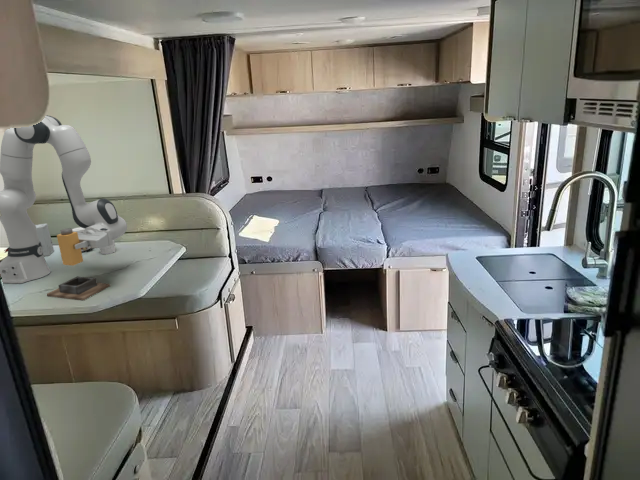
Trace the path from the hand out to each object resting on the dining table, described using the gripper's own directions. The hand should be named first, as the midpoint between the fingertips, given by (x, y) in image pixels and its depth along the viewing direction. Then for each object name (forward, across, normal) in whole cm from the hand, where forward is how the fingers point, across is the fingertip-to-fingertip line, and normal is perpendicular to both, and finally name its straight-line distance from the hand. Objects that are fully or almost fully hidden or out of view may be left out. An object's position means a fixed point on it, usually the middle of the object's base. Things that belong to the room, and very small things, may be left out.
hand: (67, 246), depth 179 cm
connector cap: (-1, 0, +7) cm, 7 cm away
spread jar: (-45, -39, +19) cm, 63 cm away
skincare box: (-35, -55, +19) cm, 68 cm away
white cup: (-44, -24, +19) cm, 54 cm away
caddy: (-1, 0, +19) cm, 19 cm away
